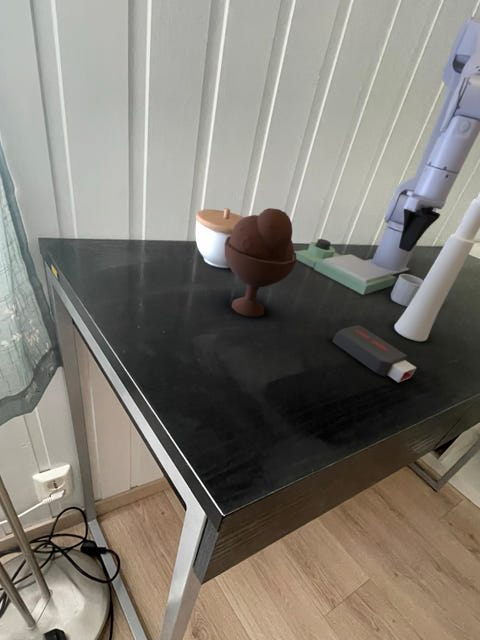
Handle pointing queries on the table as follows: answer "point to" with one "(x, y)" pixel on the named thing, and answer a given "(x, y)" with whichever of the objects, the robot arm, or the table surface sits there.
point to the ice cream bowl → (260, 255)
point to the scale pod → (315, 254)
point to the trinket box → (214, 234)
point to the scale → (355, 273)
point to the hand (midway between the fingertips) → (404, 249)
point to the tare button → (323, 244)
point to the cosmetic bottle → (440, 278)
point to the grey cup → (405, 289)
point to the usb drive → (374, 353)
